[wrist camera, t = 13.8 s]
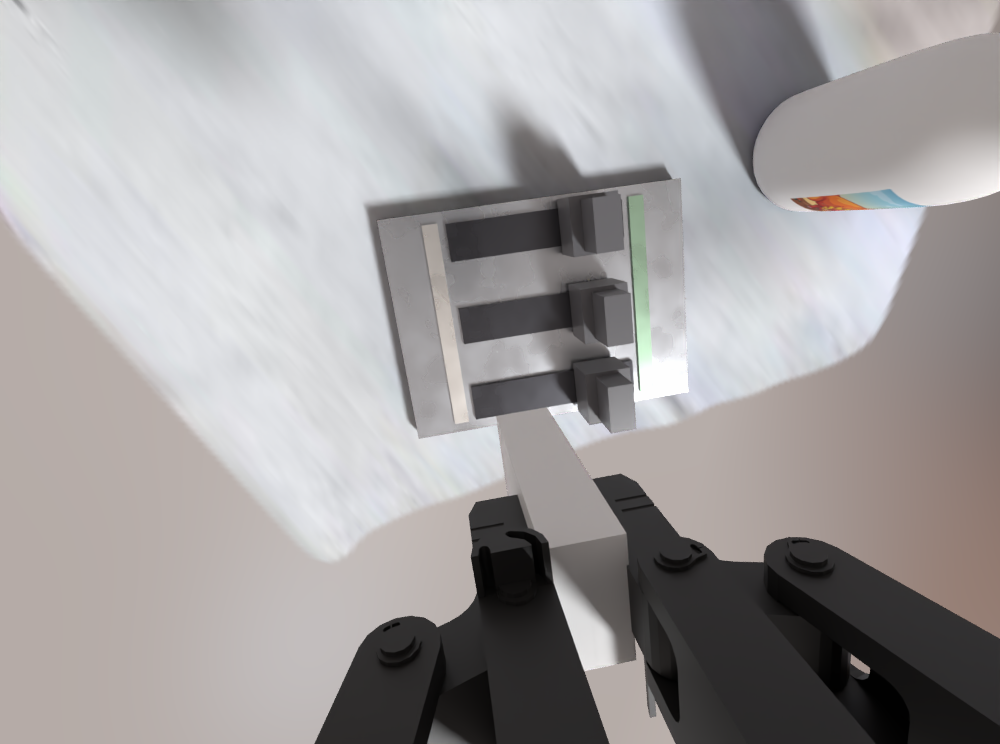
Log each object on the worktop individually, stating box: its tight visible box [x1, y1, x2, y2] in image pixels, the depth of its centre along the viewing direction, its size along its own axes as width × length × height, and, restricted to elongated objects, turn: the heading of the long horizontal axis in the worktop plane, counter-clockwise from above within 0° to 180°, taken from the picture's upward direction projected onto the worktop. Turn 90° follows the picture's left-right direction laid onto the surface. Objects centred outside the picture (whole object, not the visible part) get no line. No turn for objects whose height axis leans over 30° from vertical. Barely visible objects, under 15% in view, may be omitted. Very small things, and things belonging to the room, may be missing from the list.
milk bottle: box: [753, 32, 1000, 212], centre depth 27 cm, size 8×8×20 cm
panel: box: [377, 178, 688, 439], centre depth 37 cm, size 15×20×2 cm
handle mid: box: [568, 278, 634, 347], centre depth 33 cm, size 4×3×5 cm
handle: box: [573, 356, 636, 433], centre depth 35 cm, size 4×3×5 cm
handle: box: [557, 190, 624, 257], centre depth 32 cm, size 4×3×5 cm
